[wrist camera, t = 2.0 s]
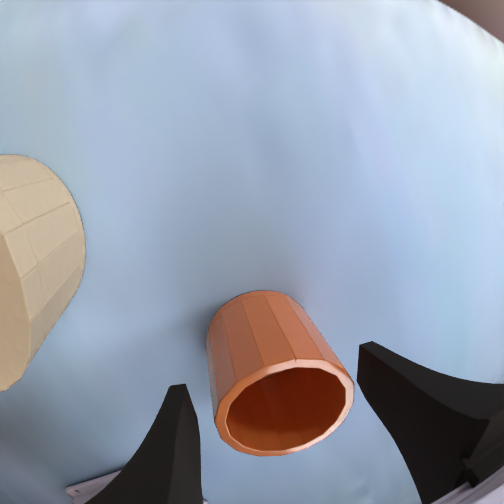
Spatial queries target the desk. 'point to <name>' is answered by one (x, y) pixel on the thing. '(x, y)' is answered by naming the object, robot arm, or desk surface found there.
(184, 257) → the desk surface
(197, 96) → the desk surface
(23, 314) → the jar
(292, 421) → the cup
